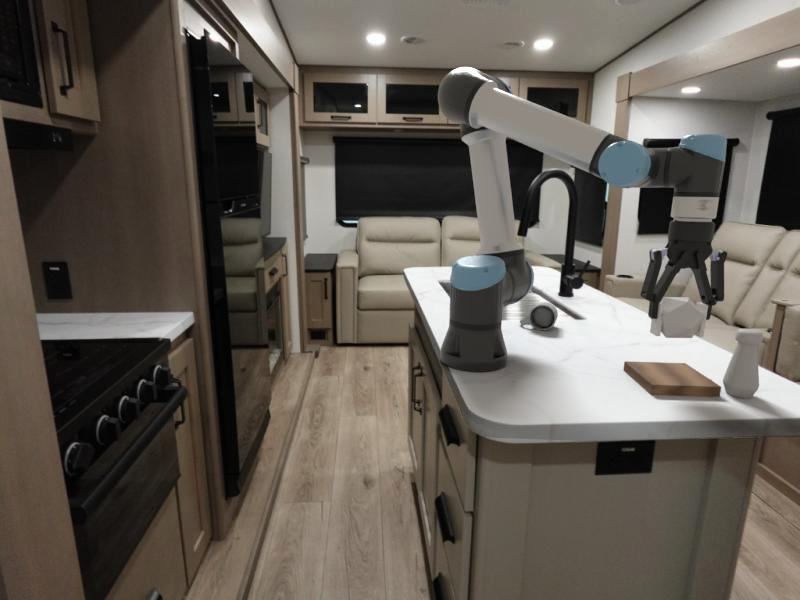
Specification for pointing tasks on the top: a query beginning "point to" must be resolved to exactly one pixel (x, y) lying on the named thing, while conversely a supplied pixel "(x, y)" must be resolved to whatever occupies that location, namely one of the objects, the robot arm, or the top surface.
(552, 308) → the ceramic mug
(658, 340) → the top surface
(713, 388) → the walnut board
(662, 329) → the die
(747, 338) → the salt shaker
